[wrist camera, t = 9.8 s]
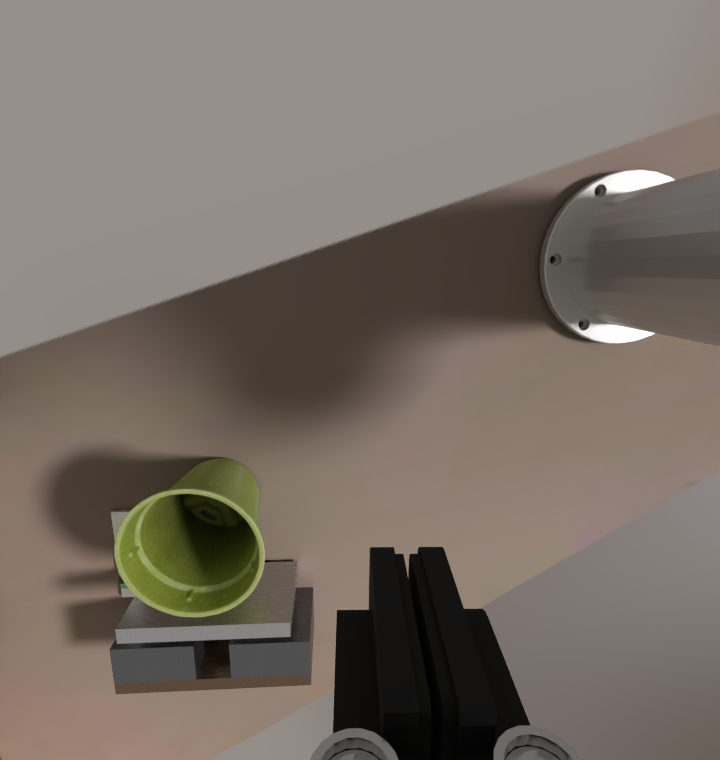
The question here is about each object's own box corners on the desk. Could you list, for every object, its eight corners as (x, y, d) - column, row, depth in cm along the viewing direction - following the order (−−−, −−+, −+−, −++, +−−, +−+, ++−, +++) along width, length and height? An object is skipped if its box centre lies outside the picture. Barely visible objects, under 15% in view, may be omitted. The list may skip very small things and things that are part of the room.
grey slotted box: (113, 509, 37) (72, 554, 32) (311, 504, 38) (308, 547, 33) (129, 633, 40) (95, 695, 34) (313, 626, 41) (310, 684, 36)
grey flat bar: (123, 566, 38) (79, 630, 32) (297, 561, 39) (289, 622, 33) (128, 607, 39) (86, 678, 33) (298, 601, 40) (291, 669, 33)
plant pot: (250, 559, 39) (228, 638, 31) (144, 515, 38) (91, 586, 29) (298, 468, 38) (289, 526, 29) (190, 418, 36) (147, 465, 28)
